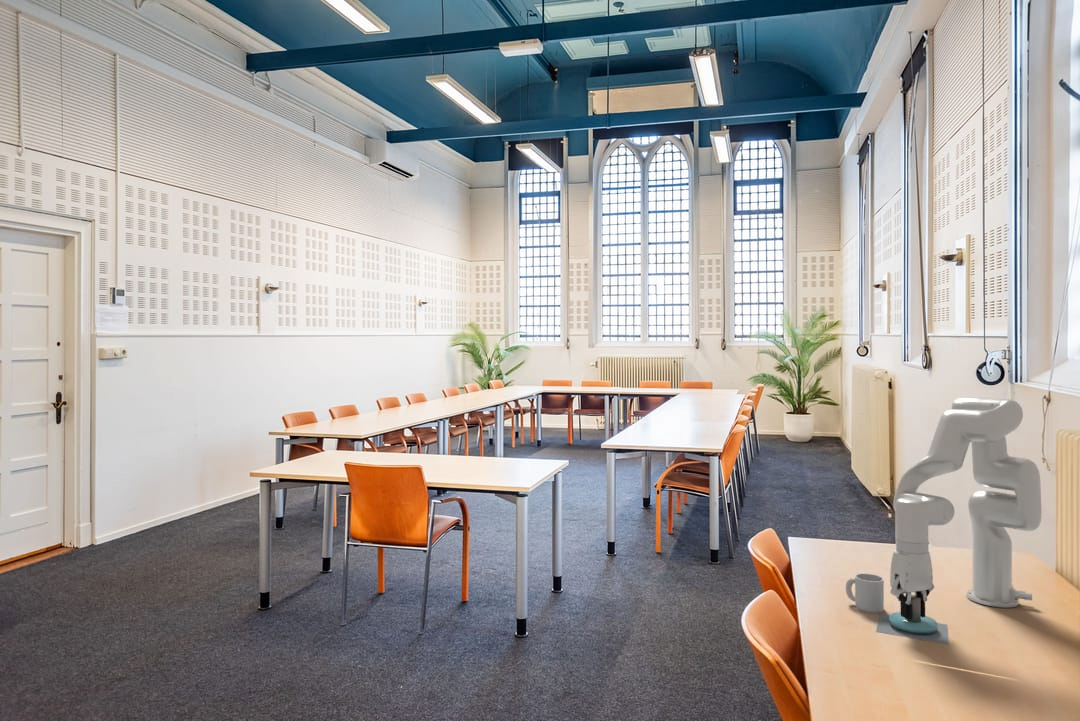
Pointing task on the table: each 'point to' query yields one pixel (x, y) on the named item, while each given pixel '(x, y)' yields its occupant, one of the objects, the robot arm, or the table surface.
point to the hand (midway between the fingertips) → (912, 615)
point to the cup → (867, 592)
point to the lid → (914, 619)
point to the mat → (936, 636)
